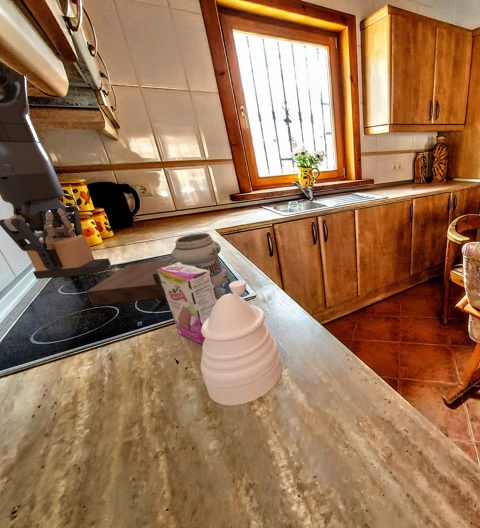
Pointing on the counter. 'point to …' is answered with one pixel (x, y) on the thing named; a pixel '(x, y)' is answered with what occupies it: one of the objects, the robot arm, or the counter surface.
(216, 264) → the apothecary jar
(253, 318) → the honey pot
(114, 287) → the shelf
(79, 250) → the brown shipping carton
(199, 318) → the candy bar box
